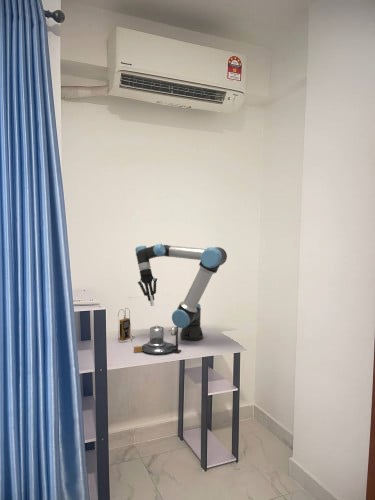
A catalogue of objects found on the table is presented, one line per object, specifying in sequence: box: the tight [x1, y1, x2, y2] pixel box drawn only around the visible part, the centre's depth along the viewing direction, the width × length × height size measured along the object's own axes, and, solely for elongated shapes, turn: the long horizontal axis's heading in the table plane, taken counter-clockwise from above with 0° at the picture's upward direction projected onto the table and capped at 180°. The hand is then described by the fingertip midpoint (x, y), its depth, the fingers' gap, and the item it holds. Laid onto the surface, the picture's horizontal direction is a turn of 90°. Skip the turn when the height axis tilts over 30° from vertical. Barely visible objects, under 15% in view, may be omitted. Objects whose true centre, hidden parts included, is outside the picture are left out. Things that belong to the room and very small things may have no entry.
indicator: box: [167, 326, 182, 354], centre depth 211 cm, size 7×5×14 cm
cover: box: [147, 325, 167, 347], centre depth 219 cm, size 11×11×11 cm
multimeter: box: [117, 307, 135, 343], centre depth 235 cm, size 15×10×20 cm
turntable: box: [133, 341, 176, 355], centre depth 214 cm, size 24×20×2 cm
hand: (152, 305), depth 233 cm, fingers closed
